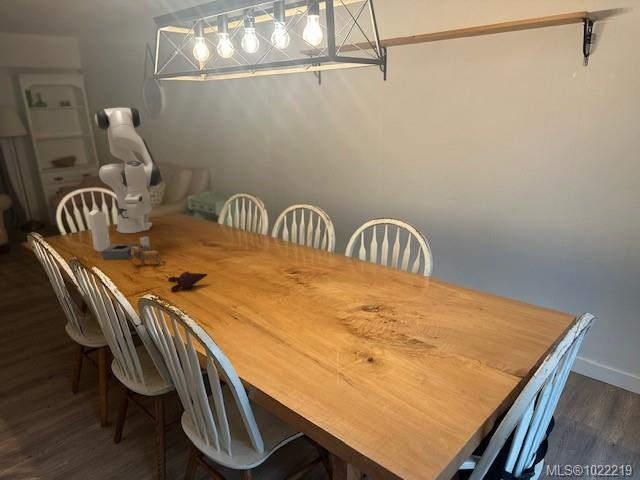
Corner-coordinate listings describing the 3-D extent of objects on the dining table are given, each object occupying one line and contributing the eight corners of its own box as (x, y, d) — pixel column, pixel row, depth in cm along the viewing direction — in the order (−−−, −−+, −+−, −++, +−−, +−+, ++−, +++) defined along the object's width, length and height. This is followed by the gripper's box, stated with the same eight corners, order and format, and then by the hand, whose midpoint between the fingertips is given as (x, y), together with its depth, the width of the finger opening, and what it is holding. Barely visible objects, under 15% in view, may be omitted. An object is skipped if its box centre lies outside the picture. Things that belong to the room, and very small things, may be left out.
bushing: (143, 251, 226) (141, 236, 224) (151, 251, 226) (149, 236, 224) (140, 254, 222) (138, 238, 220) (148, 254, 222) (146, 238, 220)
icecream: (202, 265, 185) (165, 275, 178) (207, 266, 179) (168, 277, 172) (207, 282, 186) (170, 292, 179) (211, 283, 179) (173, 294, 173)
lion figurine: (131, 267, 204) (128, 248, 201) (134, 263, 209) (131, 245, 206) (164, 266, 205) (162, 247, 203) (167, 262, 210) (165, 243, 208)
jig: (114, 251, 227) (113, 244, 226) (140, 251, 227) (139, 243, 226) (103, 259, 216) (102, 251, 215) (130, 259, 216) (128, 250, 215)
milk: (99, 252, 227) (91, 209, 221) (94, 249, 231) (86, 207, 225) (111, 249, 232) (104, 206, 225) (106, 247, 236) (99, 205, 229)
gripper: (140, 192, 226) (144, 219, 230) (122, 200, 207) (127, 229, 210) (153, 192, 226) (156, 219, 230) (136, 199, 206) (140, 229, 210)
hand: (142, 224), depth 220 cm, fingers open, 8 cm apart
